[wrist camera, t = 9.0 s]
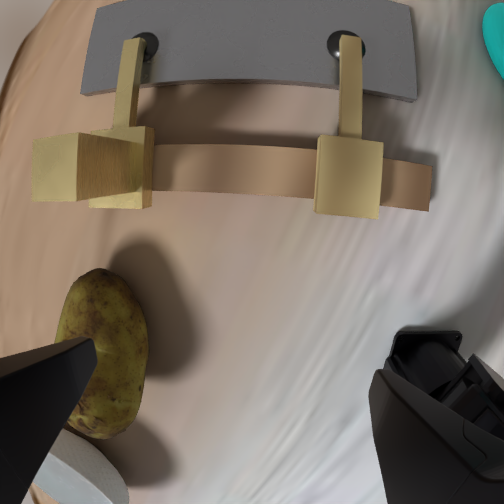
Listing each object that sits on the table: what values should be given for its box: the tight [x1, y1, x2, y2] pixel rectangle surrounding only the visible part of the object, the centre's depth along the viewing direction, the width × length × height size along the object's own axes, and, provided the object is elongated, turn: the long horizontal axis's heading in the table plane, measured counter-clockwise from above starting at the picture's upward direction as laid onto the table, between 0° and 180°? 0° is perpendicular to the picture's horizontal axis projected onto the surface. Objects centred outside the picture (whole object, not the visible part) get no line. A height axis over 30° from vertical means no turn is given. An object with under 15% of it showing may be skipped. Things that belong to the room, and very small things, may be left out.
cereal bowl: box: [33, 429, 129, 504], centre depth 26 cm, size 17×17×7 cm
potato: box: [54, 268, 149, 439], centre depth 20 cm, size 8×13×8 cm, turn 154°
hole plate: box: [80, 0, 417, 103], centre depth 17 cm, size 24×8×1 cm, turn 87°
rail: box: [152, 35, 432, 219], centre depth 18 cm, size 26×12×3 cm, turn 87°
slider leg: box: [32, 37, 155, 209], centre depth 15 cm, size 4×12×8 cm, turn 177°
